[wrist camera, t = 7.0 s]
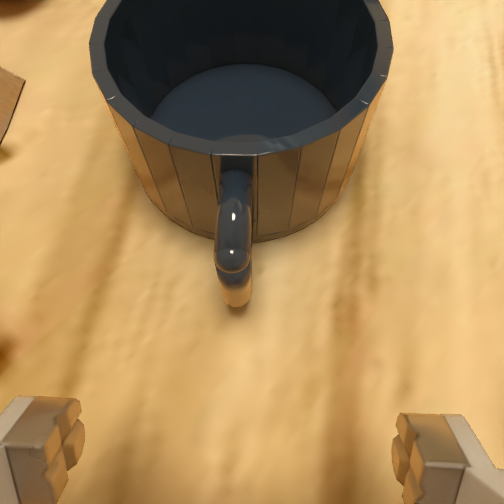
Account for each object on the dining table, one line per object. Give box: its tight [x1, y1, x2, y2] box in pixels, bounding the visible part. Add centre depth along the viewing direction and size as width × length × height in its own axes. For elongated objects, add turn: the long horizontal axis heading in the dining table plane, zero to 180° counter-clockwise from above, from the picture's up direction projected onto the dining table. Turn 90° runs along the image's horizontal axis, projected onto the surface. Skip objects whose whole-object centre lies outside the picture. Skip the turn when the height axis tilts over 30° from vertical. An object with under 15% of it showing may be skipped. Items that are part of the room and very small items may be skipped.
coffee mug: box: [89, 0, 393, 307], centre depth 21 cm, size 18×13×8 cm
